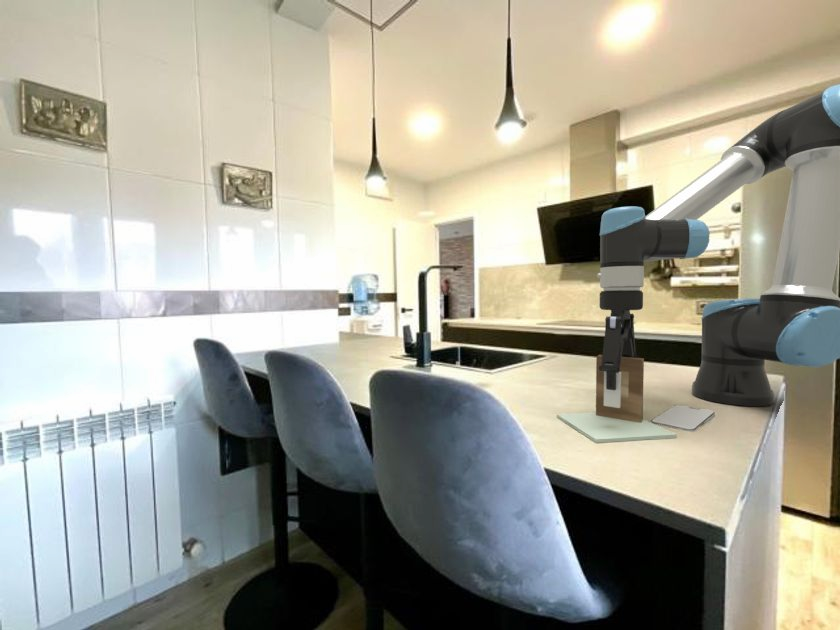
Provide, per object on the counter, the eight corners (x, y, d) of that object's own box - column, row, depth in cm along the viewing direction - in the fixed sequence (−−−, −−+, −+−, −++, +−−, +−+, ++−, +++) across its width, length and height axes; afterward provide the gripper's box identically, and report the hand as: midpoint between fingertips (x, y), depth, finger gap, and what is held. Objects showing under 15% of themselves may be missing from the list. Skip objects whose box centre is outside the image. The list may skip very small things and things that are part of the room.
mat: (624, 413, 82) (624, 410, 82) (676, 437, 68) (676, 434, 68) (556, 417, 80) (556, 414, 80) (595, 442, 66) (595, 439, 66)
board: (598, 412, 80) (599, 354, 80) (642, 419, 76) (643, 358, 75) (595, 415, 79) (596, 356, 78) (640, 422, 74) (642, 360, 73)
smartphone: (648, 421, 76) (675, 404, 85) (648, 426, 76) (675, 409, 85) (693, 430, 70) (716, 411, 80) (693, 436, 70) (716, 416, 80)
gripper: (613, 289, 88) (612, 384, 89) (582, 289, 68) (581, 410, 70) (652, 289, 83) (650, 389, 84) (630, 288, 64) (628, 418, 65)
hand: (619, 399), depth 77 cm, fingers open, 12 cm apart
